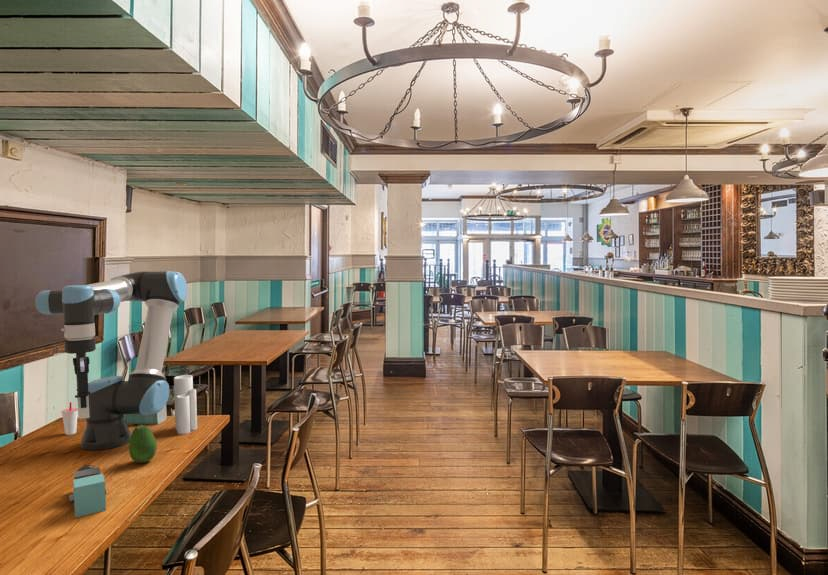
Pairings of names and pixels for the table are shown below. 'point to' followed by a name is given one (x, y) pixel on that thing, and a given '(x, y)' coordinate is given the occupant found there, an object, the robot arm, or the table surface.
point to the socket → (89, 495)
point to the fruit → (142, 444)
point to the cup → (70, 420)
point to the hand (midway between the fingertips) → (84, 417)
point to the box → (147, 418)
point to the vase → (185, 404)
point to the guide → (84, 474)
